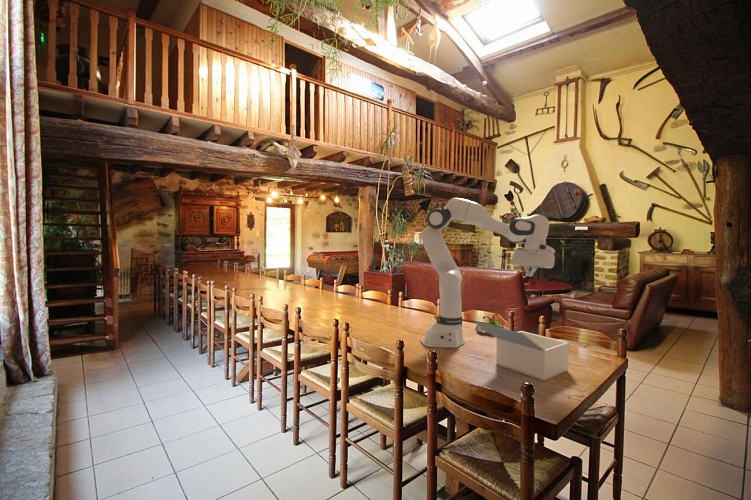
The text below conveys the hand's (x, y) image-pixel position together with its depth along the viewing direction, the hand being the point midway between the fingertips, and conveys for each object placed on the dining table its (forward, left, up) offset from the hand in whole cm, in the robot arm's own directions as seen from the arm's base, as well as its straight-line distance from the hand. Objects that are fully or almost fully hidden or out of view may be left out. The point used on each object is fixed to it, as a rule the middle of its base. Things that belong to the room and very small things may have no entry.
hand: (528, 275), depth 169 cm
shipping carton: (-7, -16, -38) cm, 42 cm away
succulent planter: (0, +39, -38) cm, 55 cm away
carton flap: (-22, -25, -21) cm, 39 cm away
